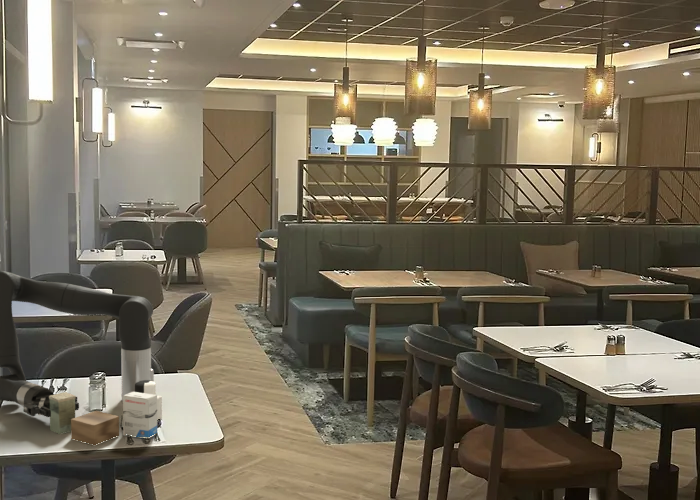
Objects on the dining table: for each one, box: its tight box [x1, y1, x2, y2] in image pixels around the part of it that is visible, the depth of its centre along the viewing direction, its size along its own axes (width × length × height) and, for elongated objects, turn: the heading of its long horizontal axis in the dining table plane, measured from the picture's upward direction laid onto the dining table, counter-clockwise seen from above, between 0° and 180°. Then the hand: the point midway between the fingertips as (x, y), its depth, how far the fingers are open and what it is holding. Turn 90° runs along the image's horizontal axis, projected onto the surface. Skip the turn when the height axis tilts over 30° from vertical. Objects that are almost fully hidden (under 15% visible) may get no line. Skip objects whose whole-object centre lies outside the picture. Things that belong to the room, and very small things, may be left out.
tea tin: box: [49, 391, 76, 435], centre depth 226 cm, size 5×5×10 cm
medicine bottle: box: [135, 380, 163, 421], centre depth 236 cm, size 7×7×12 cm
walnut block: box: [70, 410, 120, 446], centre depth 221 cm, size 9×9×6 cm
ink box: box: [122, 392, 158, 438], centre depth 224 cm, size 8×5×12 cm, turn 71°
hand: (63, 410), depth 226 cm, fingers open, 8 cm apart
